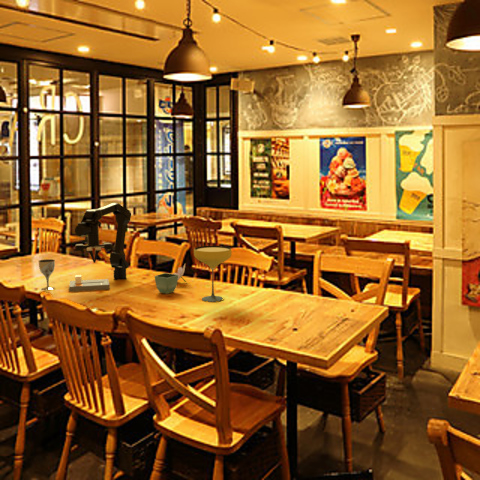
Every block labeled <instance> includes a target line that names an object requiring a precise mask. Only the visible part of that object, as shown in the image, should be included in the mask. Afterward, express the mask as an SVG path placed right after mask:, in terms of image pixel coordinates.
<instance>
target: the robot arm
mask: <svg viewBox="0 0 480 480" xmlns="http://www.w3.org/2000/svg"><path fill="white" fill-rule="evenodd" d="M84 212H85V213H84V214H83V217H82V218H81V221H80V222H78V223H77V225H76V226H75V229H74V234H75V235H76V236H78V237H83V236H84V244H87V245H84V244H83V243H76V244H75V247H74V250H75V252H81V251H83V250H86V252H87V253H89V255H90V257H91V259H92V262H93V264H95V263H96V262H97V258H98V255H99V254H100V252H102V249H105V250H113V244H112V243H111V242H104V243H103V244H100V233H99V230H100V229H99V225H102V223H101V222H100V220H101V219H102V218H103V217H104V216H106V215H108V214H111V213H112V214H113V215H114V216H115V221H116V224H117V227H116V233H115V234H116V235H115V242H114V250H113V251H111V252H109V258H108V259H109V263H110V266H111V268H112V269H114V270H113V278H114V280H116V281H119V280H127V269H129V267H130V263H129V262H128V261H127V260H126V258H127V257H126V254H125V251H124V249H125V240H126V233H127V225H128V224H129V223H130V222H131V218H132V212H131V211H130V209H127V207H124V206H122V205H121V204H120V203H118V202H111V203H110V204H107V205H105V206H102V207H99V208H93V209H86V210H85V211H84ZM93 249H94V251H93Z"/></svg>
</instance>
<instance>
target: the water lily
mask: <svg viewBox="0 0 480 480" xmlns="http://www.w3.org/2000/svg"><path fill="white" fill-rule="evenodd" d="M177 268H178V269H177V272H174V273H172V274H175V275H178V281H179V280H180V279H182V280H183V281H184V283H185V282H187V281H186V280H185V279H184V277H183V275H184V273H185V268H186V264H184V265H183V266H181V267H177Z"/></svg>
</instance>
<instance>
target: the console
mask: <svg viewBox="0 0 480 480" xmlns="http://www.w3.org/2000/svg"><path fill="white" fill-rule="evenodd" d="M81 280H82V283H81V284H75V280H69V285H68V286H69V287H68V290H69V293H70V292H87V291H104V290H110V280H109V278H104V279H103V278H102V279H100V278H99V279H81Z"/></svg>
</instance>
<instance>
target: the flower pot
mask: <svg viewBox="0 0 480 480" xmlns="http://www.w3.org/2000/svg"><path fill="white" fill-rule="evenodd" d="M154 281H155V286H156V288H157V291H158V292H159V293H161V294H167V295H168V294H171V293H174V291H175V290H176V288H177V287H178V286H177V285H178V282H179V280H178V275H175V274H173V273H168V272H163V273H159V274H156V275H154Z"/></svg>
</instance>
